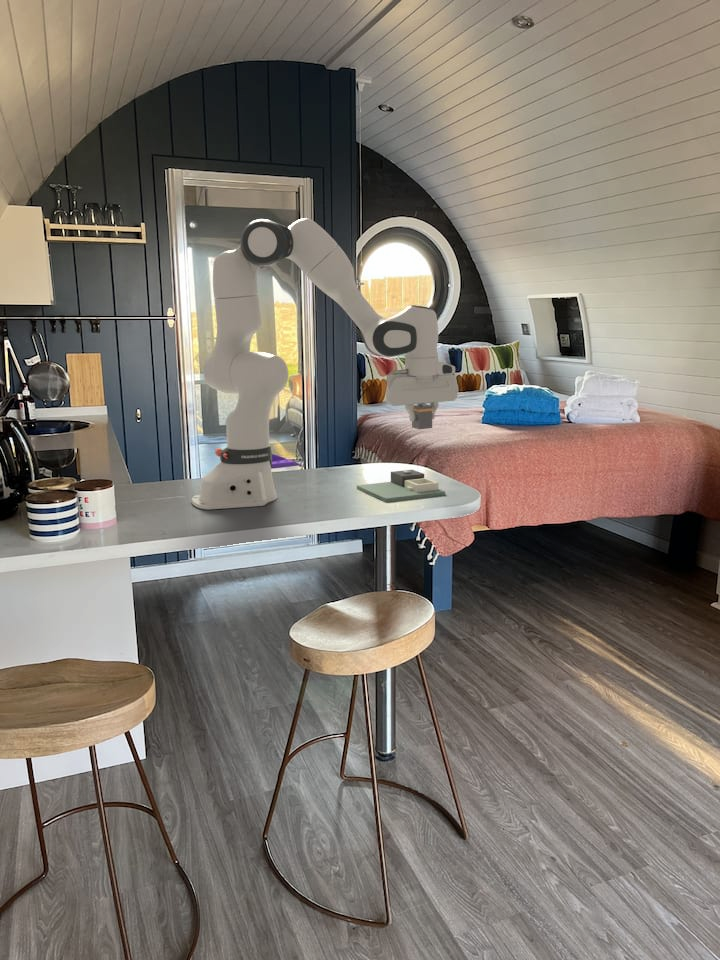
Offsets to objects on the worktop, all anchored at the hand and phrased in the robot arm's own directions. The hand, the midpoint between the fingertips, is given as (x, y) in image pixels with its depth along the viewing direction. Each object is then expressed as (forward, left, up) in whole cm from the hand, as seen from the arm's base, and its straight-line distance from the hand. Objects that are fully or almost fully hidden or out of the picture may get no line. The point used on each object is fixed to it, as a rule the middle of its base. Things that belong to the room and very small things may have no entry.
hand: (422, 420), depth 201 cm
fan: (0, +8, -19) cm, 21 cm away
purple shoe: (-23, +53, -21) cm, 62 cm away
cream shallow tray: (0, 0, -20) cm, 20 cm away
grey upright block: (0, 0, -2) cm, 2 cm away
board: (-5, +3, -20) cm, 21 cm away
